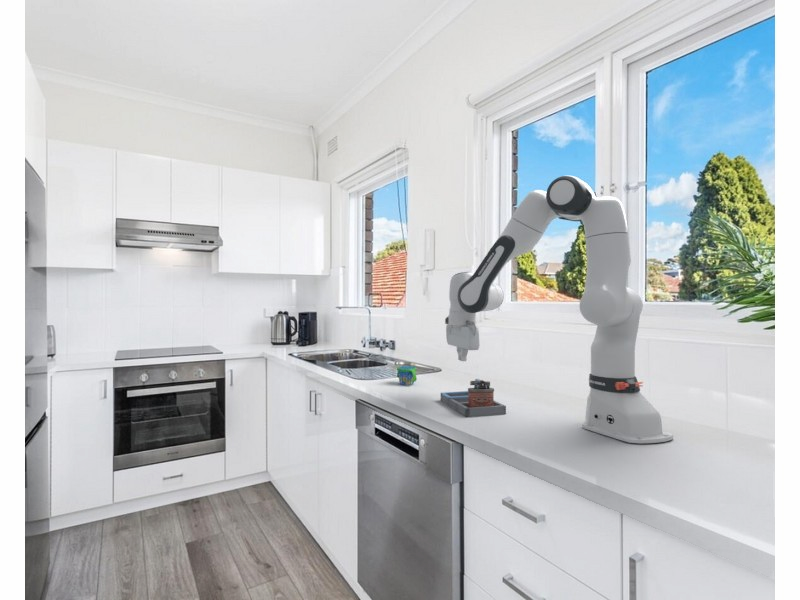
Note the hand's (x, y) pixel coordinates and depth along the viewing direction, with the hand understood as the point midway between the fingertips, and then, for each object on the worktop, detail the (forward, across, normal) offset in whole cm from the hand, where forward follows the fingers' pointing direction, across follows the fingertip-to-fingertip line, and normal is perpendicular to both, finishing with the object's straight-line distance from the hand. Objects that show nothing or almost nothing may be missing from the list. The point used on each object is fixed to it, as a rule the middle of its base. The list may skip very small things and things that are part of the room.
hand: (462, 360), depth 153 cm
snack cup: (+15, +34, +10) cm, 38 cm away
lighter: (+14, -14, 0) cm, 20 cm away
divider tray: (+14, -7, 0) cm, 16 cm away
